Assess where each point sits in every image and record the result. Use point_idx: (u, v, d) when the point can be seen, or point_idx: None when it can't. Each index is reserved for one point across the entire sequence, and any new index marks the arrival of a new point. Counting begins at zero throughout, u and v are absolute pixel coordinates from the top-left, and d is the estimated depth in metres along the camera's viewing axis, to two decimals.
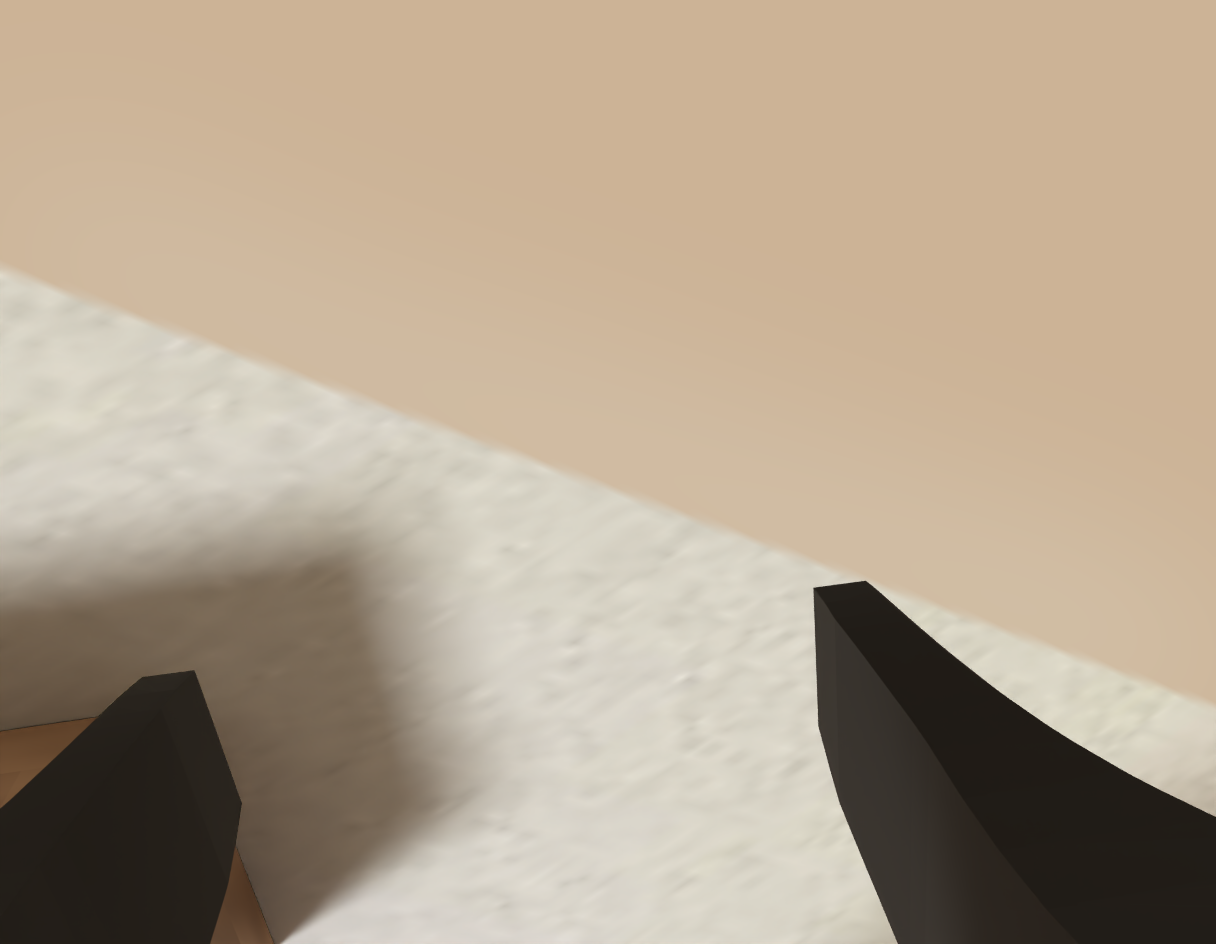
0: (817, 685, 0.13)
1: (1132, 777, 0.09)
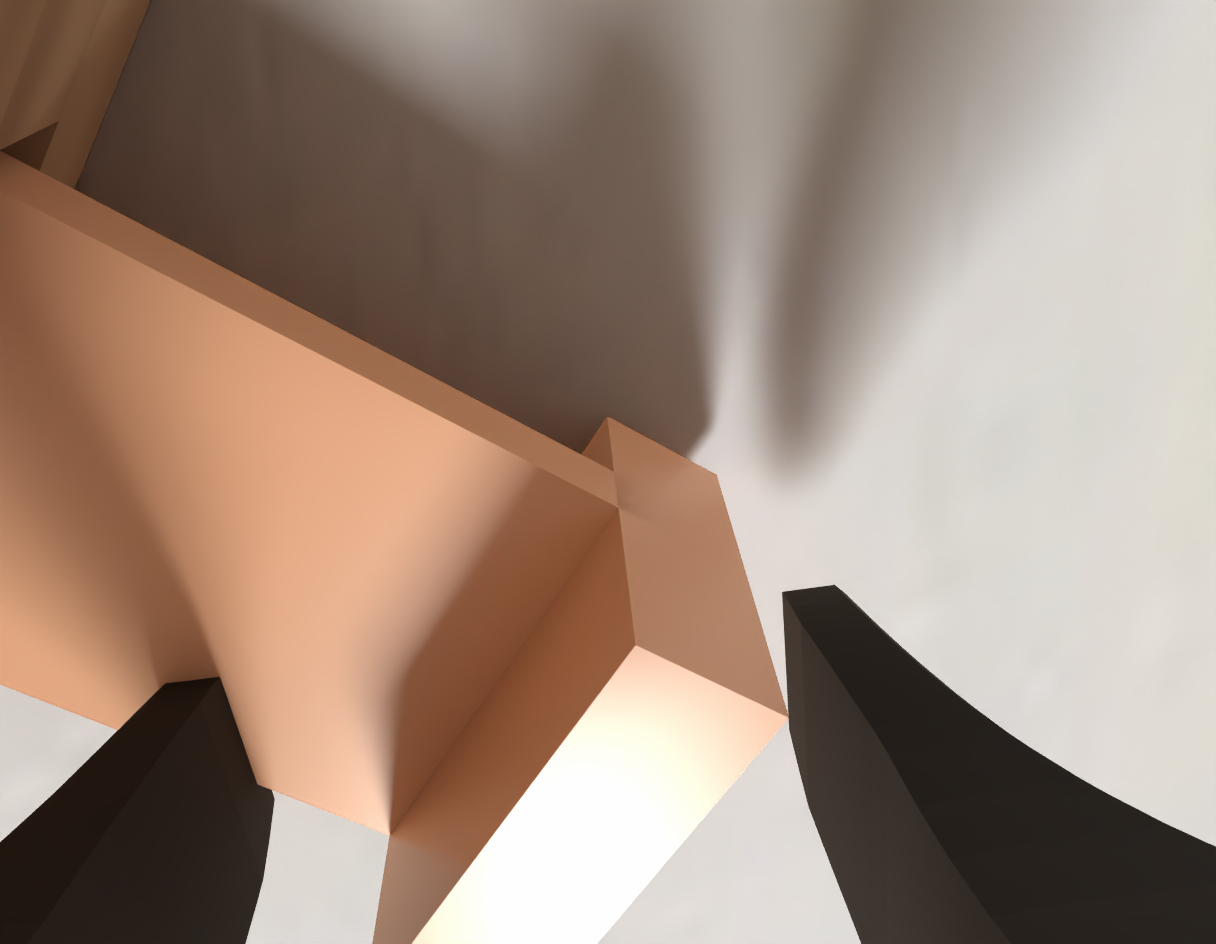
0: (787, 689, 0.13)
1: (1086, 783, 0.09)
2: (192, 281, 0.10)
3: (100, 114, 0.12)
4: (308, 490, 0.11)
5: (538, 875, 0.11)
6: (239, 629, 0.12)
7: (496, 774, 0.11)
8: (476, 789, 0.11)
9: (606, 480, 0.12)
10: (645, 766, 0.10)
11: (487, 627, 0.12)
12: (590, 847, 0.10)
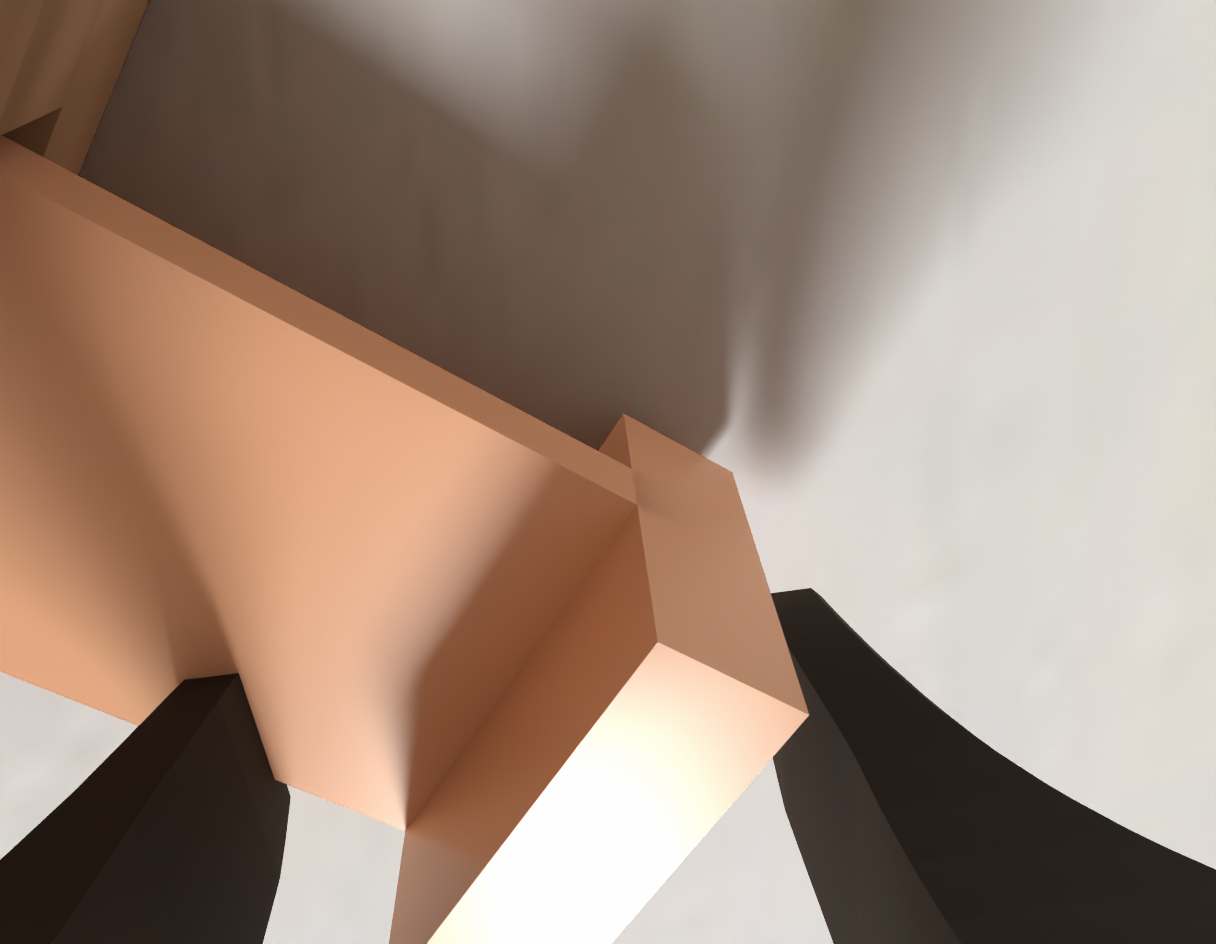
0: None
1: (1051, 788, 0.08)
2: (214, 279, 0.10)
3: (103, 101, 0.12)
4: (328, 486, 0.11)
5: (557, 870, 0.11)
6: (257, 624, 0.12)
7: (516, 771, 0.11)
8: (493, 785, 0.11)
9: (624, 477, 0.12)
10: (666, 763, 0.10)
11: (505, 624, 0.12)
12: (609, 843, 0.11)
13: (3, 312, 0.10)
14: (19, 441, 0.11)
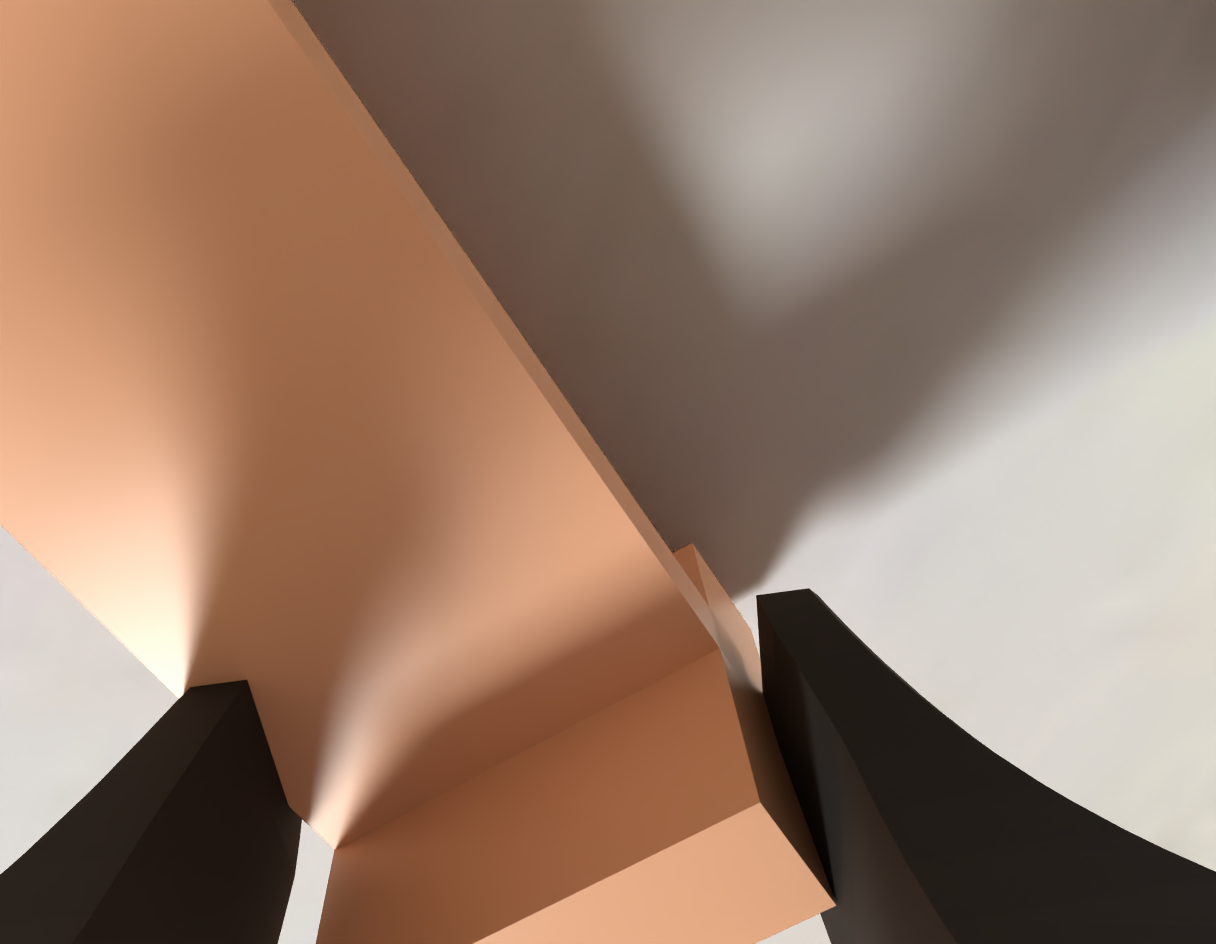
0: None
1: (1048, 788, 0.08)
2: (482, 300, 0.10)
3: None
4: (468, 522, 0.11)
5: None
6: (321, 614, 0.12)
7: (532, 852, 0.11)
8: (494, 853, 0.12)
9: (708, 615, 0.13)
10: (698, 903, 0.11)
11: (545, 702, 0.12)
12: None
13: (272, 240, 0.10)
14: (204, 357, 0.10)
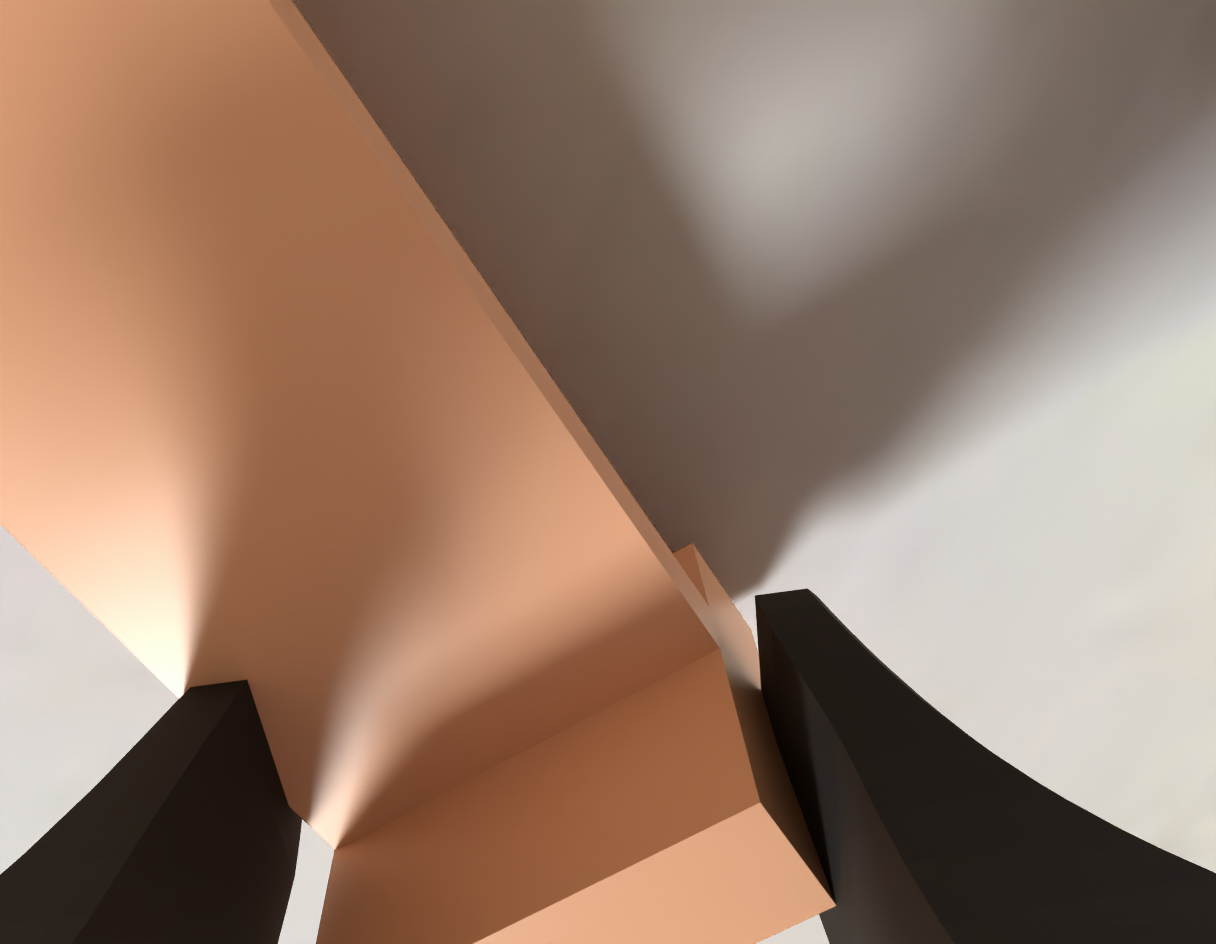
0: None
1: (1046, 788, 0.08)
2: (482, 300, 0.10)
3: None
4: (468, 522, 0.11)
5: None
6: (321, 614, 0.12)
7: (532, 852, 0.11)
8: (494, 853, 0.12)
9: (708, 615, 0.13)
10: (698, 903, 0.11)
11: (545, 702, 0.12)
12: None
13: (272, 240, 0.10)
14: (204, 357, 0.10)
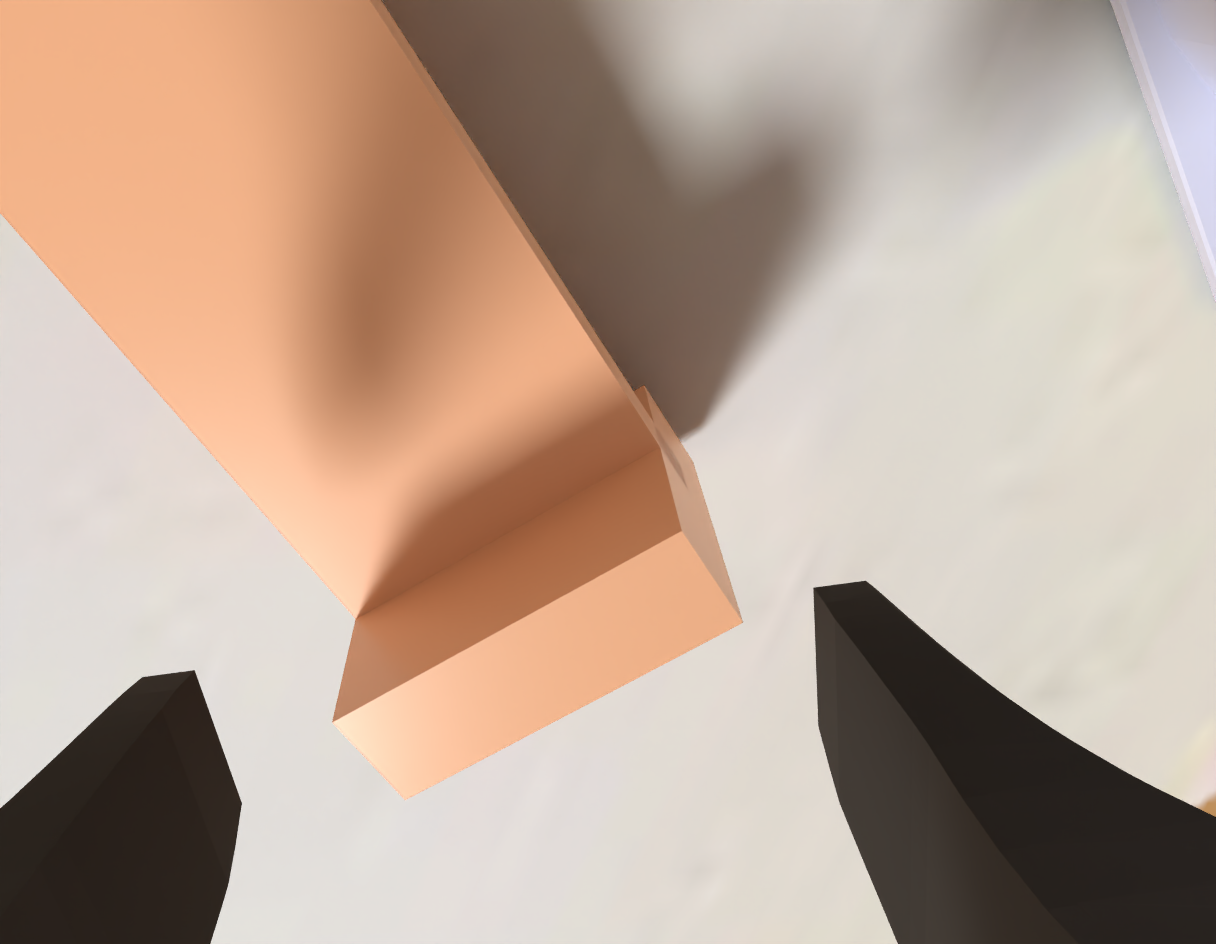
0: (817, 685, 0.13)
1: (1132, 777, 0.09)
2: (474, 158, 0.14)
3: None
4: (463, 336, 0.15)
5: (520, 666, 0.14)
6: (349, 412, 0.15)
7: (512, 590, 0.15)
8: (483, 597, 0.15)
9: (652, 425, 0.16)
10: (637, 618, 0.14)
11: (523, 491, 0.16)
12: (566, 661, 0.14)
13: (318, 105, 0.13)
14: (264, 198, 0.14)
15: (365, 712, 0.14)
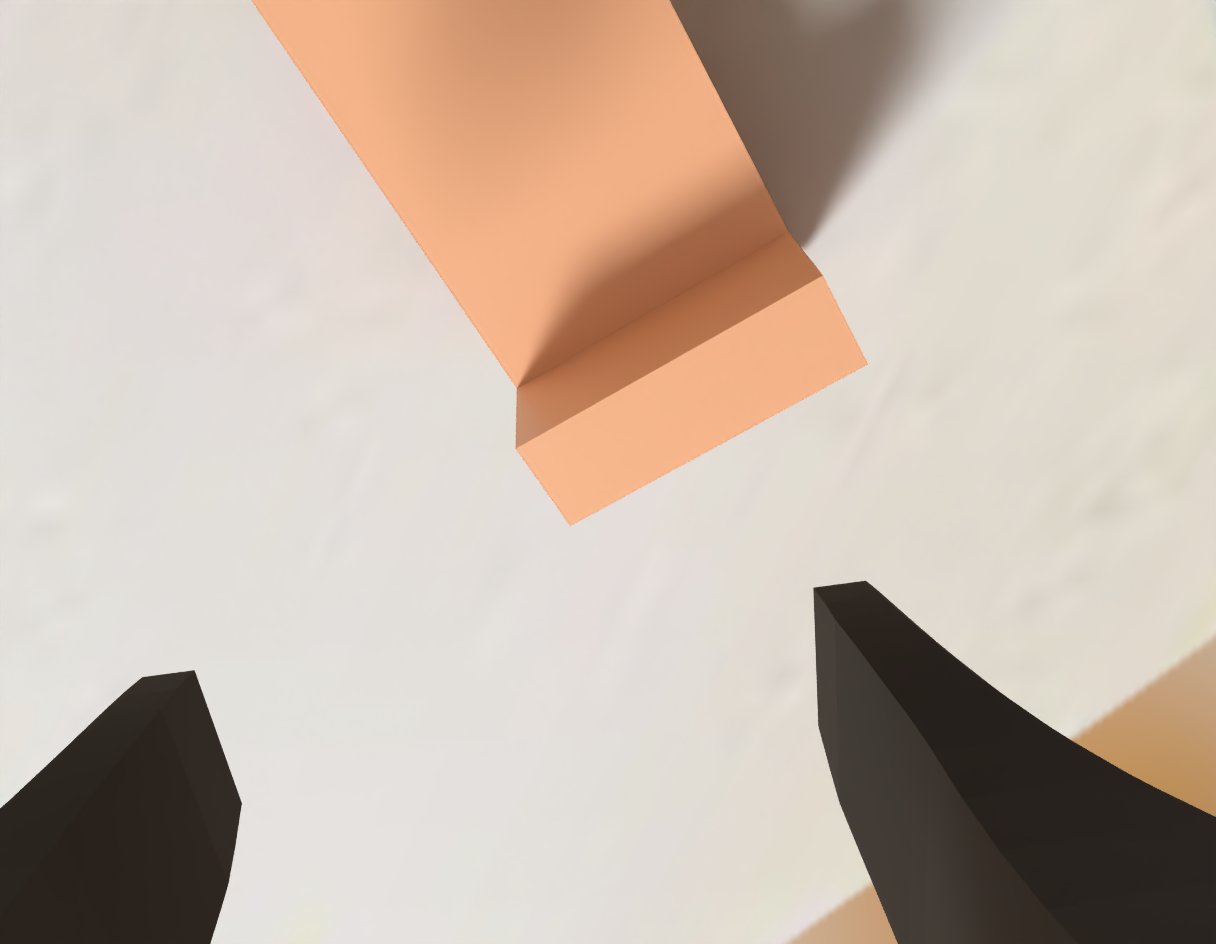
0: (817, 685, 0.13)
1: (1132, 777, 0.09)
2: None
3: None
4: (629, 124, 0.17)
5: (677, 400, 0.17)
6: (527, 192, 0.18)
7: (668, 340, 0.17)
8: (640, 350, 0.17)
9: None
10: (779, 357, 0.17)
11: (669, 270, 0.18)
12: (717, 396, 0.17)
13: None
14: None
15: (544, 440, 0.17)
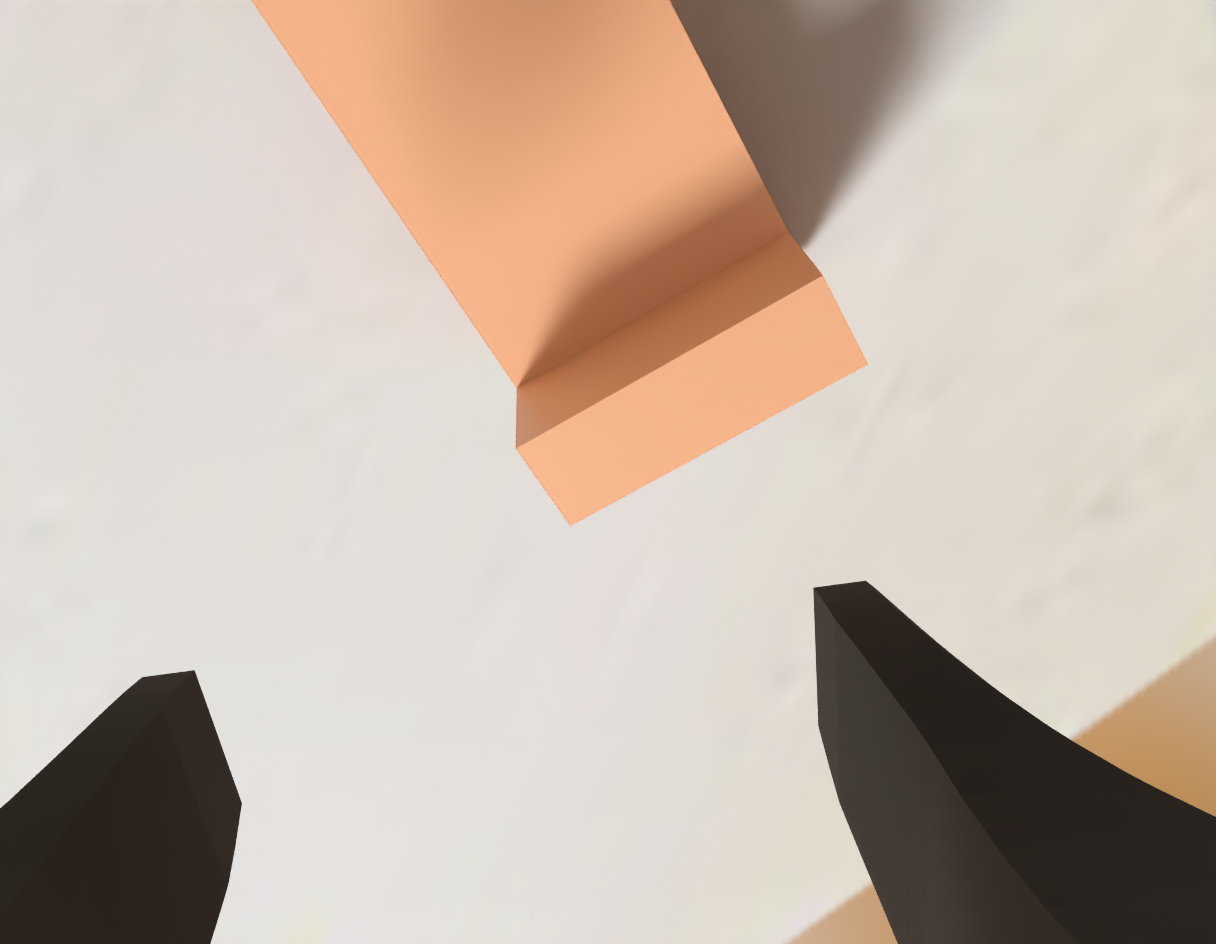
0: (817, 685, 0.13)
1: (1132, 777, 0.09)
2: None
3: None
4: (629, 124, 0.17)
5: (677, 400, 0.17)
6: (527, 192, 0.18)
7: (668, 340, 0.17)
8: (640, 350, 0.17)
9: None
10: (779, 357, 0.17)
11: (669, 270, 0.18)
12: (717, 396, 0.17)
13: None
14: None
15: (544, 440, 0.17)
